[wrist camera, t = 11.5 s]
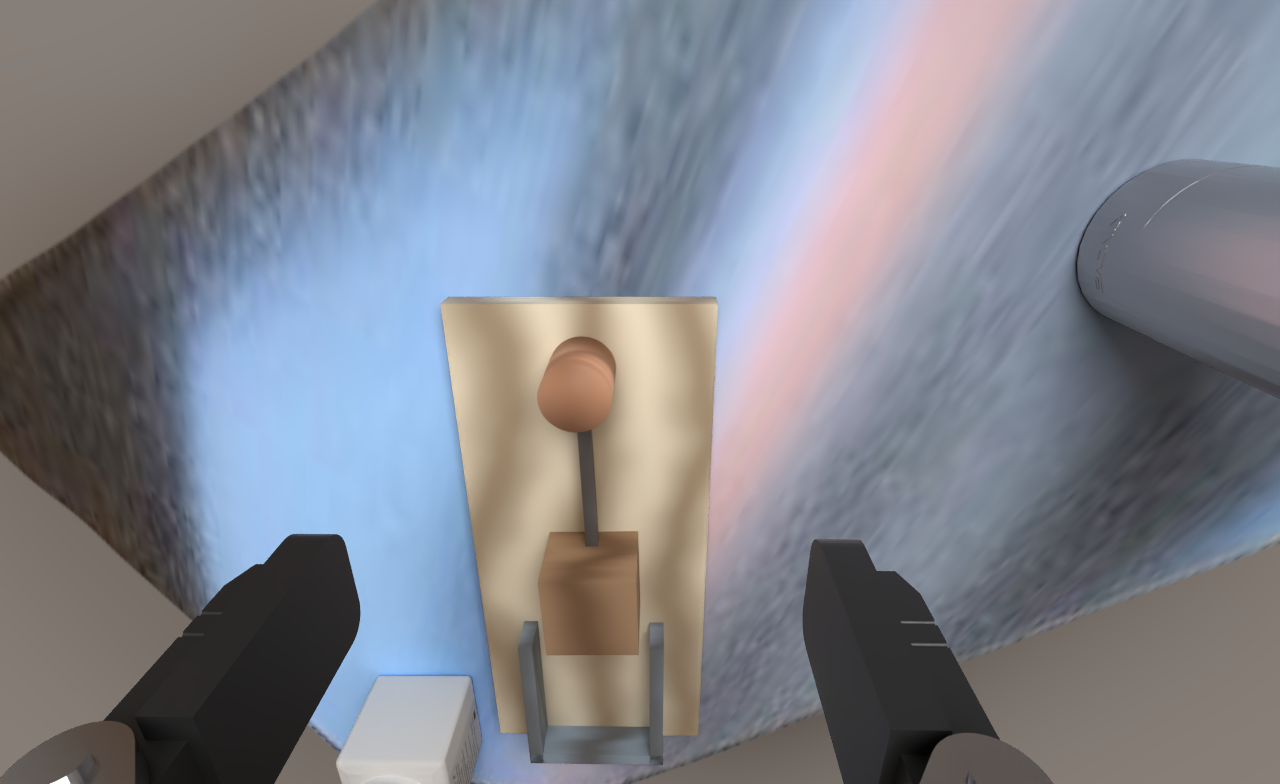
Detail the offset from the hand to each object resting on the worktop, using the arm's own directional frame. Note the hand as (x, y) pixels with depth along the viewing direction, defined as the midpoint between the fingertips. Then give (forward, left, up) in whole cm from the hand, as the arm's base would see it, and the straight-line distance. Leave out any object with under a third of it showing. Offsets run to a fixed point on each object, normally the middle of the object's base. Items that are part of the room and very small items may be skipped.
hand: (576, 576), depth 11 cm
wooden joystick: (+3, +15, -27) cm, 31 cm away
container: (+17, +38, -28) cm, 50 cm away
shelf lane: (+3, +21, -28) cm, 35 cm away
